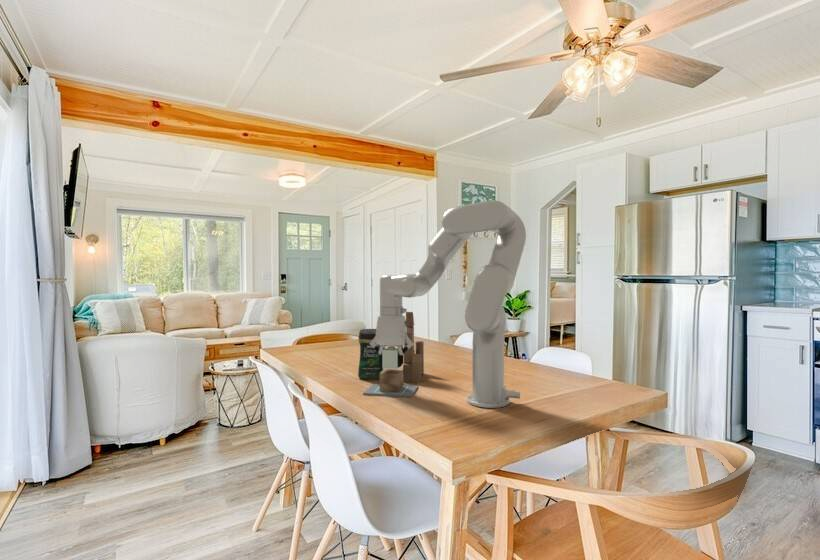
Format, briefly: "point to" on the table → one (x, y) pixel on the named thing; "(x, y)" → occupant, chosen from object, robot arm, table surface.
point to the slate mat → (404, 392)
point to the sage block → (390, 358)
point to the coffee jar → (368, 356)
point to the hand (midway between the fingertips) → (391, 365)
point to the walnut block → (391, 380)
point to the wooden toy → (413, 354)
